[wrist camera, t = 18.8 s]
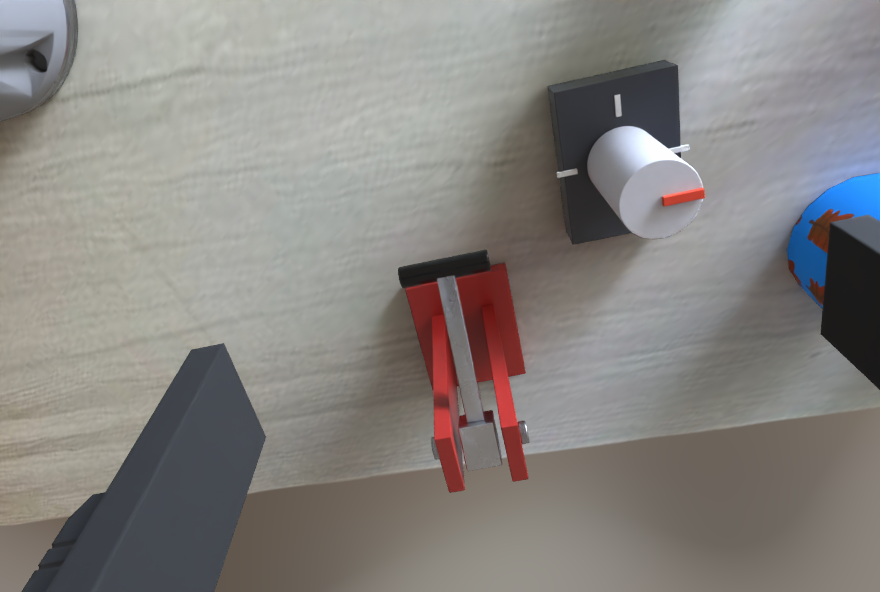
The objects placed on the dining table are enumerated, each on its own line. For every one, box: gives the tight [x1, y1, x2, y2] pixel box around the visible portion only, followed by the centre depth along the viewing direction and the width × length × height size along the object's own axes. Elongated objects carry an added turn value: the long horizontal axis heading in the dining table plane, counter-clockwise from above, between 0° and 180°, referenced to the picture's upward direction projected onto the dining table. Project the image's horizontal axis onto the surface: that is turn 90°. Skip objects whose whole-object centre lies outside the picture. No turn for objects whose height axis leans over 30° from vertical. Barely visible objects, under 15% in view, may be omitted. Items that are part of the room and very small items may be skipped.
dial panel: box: [548, 60, 689, 245], centre depth 44 cm, size 11×9×3 cm
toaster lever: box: [398, 250, 502, 471], centre depth 39 cm, size 13×6×2 cm, turn 12°
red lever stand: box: [405, 263, 529, 493], centre depth 45 cm, size 10×8×16 cm
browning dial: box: [587, 126, 705, 239], centre depth 39 cm, size 5×5×8 cm
